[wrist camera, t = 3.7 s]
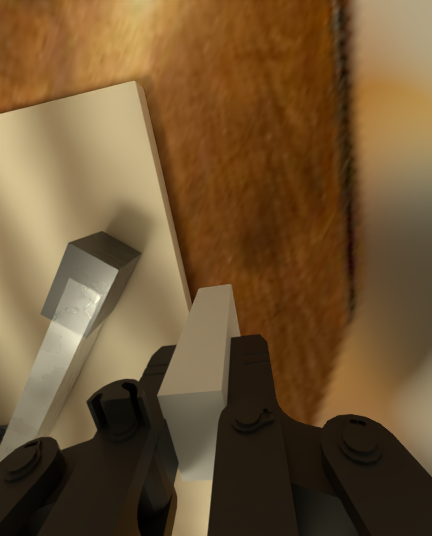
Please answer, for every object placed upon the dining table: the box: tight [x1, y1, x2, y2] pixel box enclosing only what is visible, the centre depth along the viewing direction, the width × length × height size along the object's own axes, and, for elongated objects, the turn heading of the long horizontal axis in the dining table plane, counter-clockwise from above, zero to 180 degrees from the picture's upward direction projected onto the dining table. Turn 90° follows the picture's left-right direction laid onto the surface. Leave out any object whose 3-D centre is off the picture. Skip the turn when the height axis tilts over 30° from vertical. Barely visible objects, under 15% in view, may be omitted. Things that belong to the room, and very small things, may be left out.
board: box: [0, 80, 213, 536], centre depth 19 cm, size 20×36×1 cm, turn 10°
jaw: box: [0, 231, 142, 462], centre depth 17 cm, size 2×28×3 cm, turn 150°
